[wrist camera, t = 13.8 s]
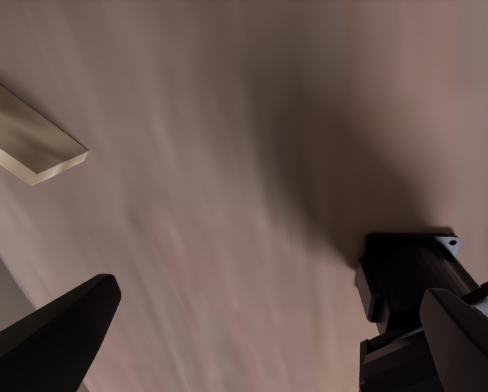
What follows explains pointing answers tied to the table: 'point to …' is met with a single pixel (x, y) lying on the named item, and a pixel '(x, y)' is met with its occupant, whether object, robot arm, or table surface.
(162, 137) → the table surface
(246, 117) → the table surface
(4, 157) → the tray
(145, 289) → the table surface
